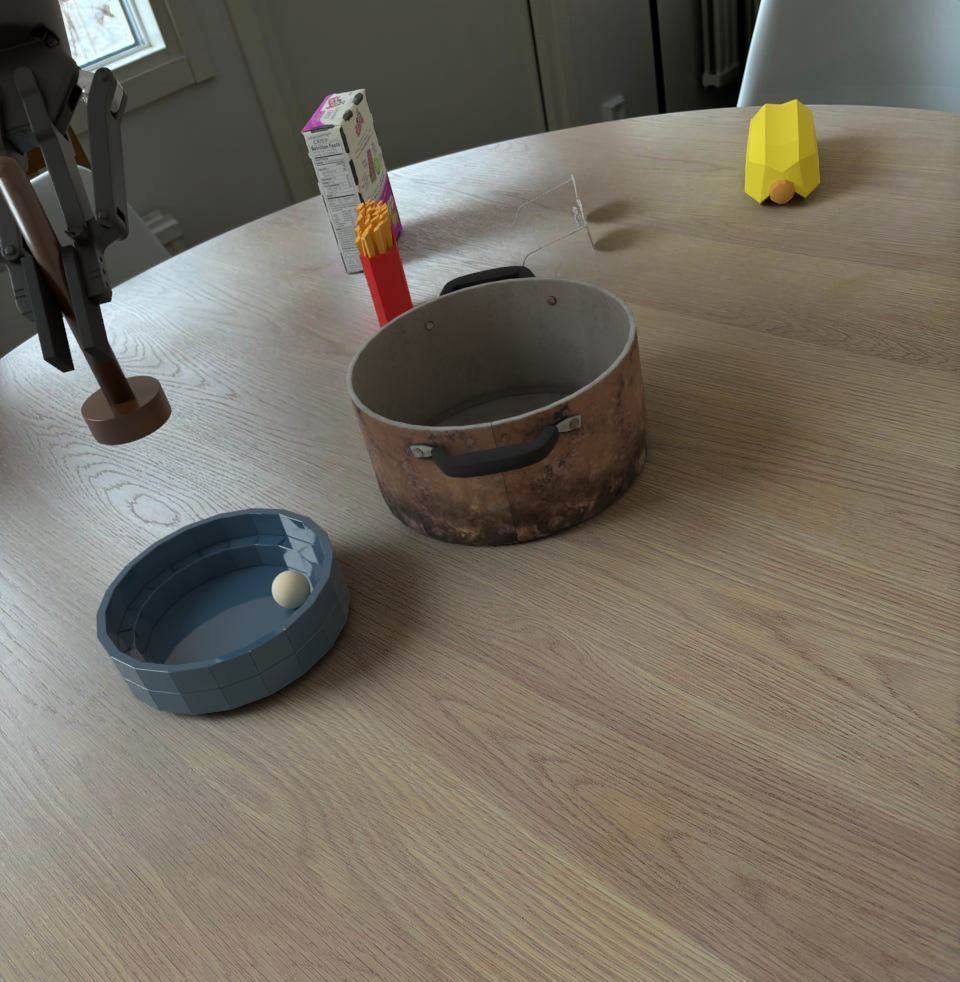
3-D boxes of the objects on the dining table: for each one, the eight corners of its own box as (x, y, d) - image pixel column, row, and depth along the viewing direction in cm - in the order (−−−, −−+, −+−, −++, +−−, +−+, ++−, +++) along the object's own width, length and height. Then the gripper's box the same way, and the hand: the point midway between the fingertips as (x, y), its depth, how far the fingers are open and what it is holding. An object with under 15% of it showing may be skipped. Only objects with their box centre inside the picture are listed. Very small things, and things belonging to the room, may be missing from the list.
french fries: (378, 309, 113) (346, 199, 105) (413, 300, 113) (384, 189, 105) (382, 345, 107) (349, 230, 99) (420, 335, 107) (389, 220, 99)
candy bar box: (365, 235, 130) (325, 94, 119) (404, 229, 128) (367, 86, 117) (343, 276, 122) (298, 129, 111) (384, 271, 120) (342, 121, 109)
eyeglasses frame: (598, 258, 111) (584, 214, 108) (524, 286, 113) (508, 244, 110) (583, 208, 122) (570, 167, 118) (516, 235, 123) (501, 195, 120)
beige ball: (282, 621, 77) (269, 592, 75) (276, 599, 79) (263, 570, 77) (318, 608, 77) (306, 579, 75) (311, 586, 79) (299, 557, 77)
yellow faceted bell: (744, 218, 111) (820, 208, 109) (742, 153, 107) (821, 142, 105) (747, 153, 124) (815, 144, 122) (745, 93, 119) (816, 82, 117)
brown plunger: (95, 455, 70) (-51, 184, 58) (92, 417, 74) (-45, 157, 62) (175, 427, 71) (47, 153, 59) (168, 391, 75) (47, 128, 63)
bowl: (132, 756, 71) (99, 706, 67) (121, 605, 84) (93, 557, 80) (375, 666, 72) (355, 613, 69) (328, 531, 85) (308, 481, 82)
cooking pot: (676, 553, 74) (663, 424, 67) (372, 604, 77) (328, 485, 70) (627, 350, 96) (613, 236, 89) (392, 395, 99) (360, 289, 92)
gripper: (131, 9, 69) (212, 349, 68) (-81, 68, 70) (-5, 405, 69) (83, -72, 62) (173, 308, 61) (-155, -6, 63) (-70, 372, 61)
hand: (78, 359), depth 65 cm, fingers closed on brown plunger, 2 cm apart
